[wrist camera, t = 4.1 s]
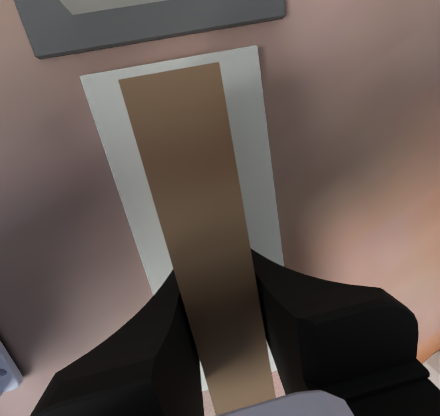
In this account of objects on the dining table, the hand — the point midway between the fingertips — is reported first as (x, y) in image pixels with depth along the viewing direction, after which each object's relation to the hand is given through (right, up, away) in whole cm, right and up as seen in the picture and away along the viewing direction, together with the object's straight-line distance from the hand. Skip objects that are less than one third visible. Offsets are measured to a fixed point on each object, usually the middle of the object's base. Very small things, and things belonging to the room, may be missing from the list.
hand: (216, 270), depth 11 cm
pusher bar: (0, 0, +1) cm, 1 cm away
